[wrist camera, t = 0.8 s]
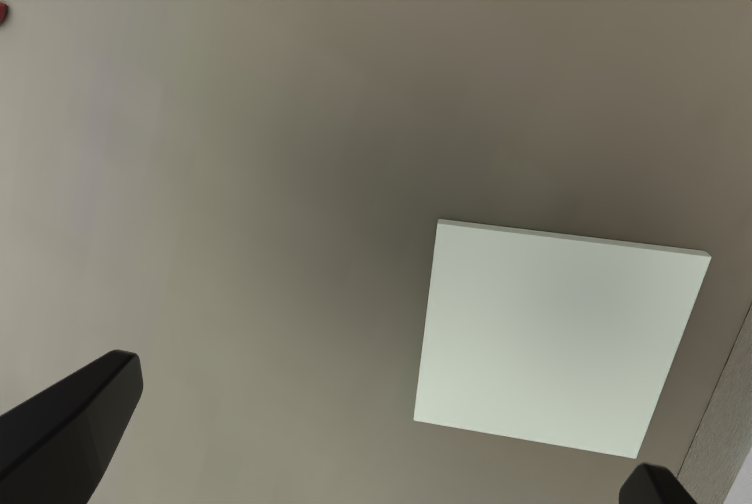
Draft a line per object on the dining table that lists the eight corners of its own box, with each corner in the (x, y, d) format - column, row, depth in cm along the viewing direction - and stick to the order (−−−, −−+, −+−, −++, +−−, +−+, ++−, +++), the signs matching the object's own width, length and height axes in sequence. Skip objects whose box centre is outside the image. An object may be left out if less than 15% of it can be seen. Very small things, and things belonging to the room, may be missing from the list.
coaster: (632, 449, 26) (635, 458, 25) (414, 412, 27) (413, 420, 27) (705, 251, 21) (711, 256, 21) (438, 218, 23) (437, 223, 22)
